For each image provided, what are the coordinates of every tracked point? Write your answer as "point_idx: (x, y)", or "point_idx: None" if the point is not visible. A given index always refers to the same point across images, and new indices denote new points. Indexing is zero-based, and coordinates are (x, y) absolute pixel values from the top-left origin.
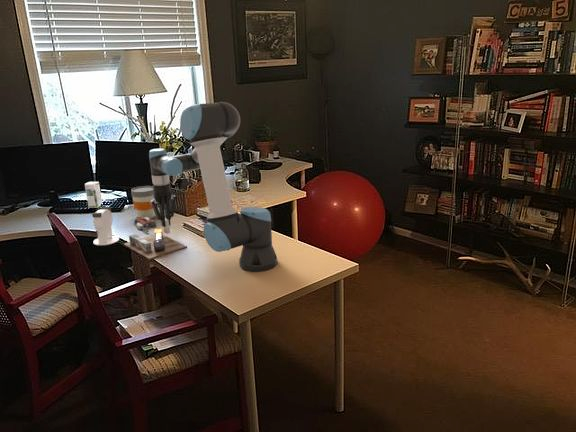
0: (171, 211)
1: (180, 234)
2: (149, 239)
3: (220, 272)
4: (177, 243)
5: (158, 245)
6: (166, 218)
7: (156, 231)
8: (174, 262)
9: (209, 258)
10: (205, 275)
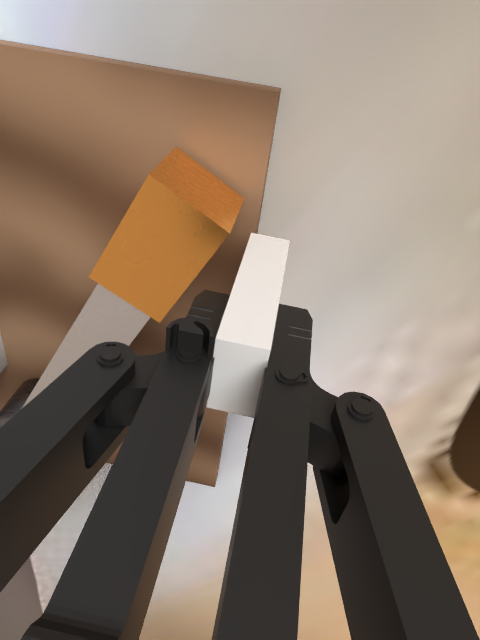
0: (332, 533)
1: (408, 282)
2: (82, 164)
3: (151, 633)
4: (206, 423)
5: None
6: (262, 380)
7: (124, 256)
8: (65, 513)
9: (203, 585)
10: None
